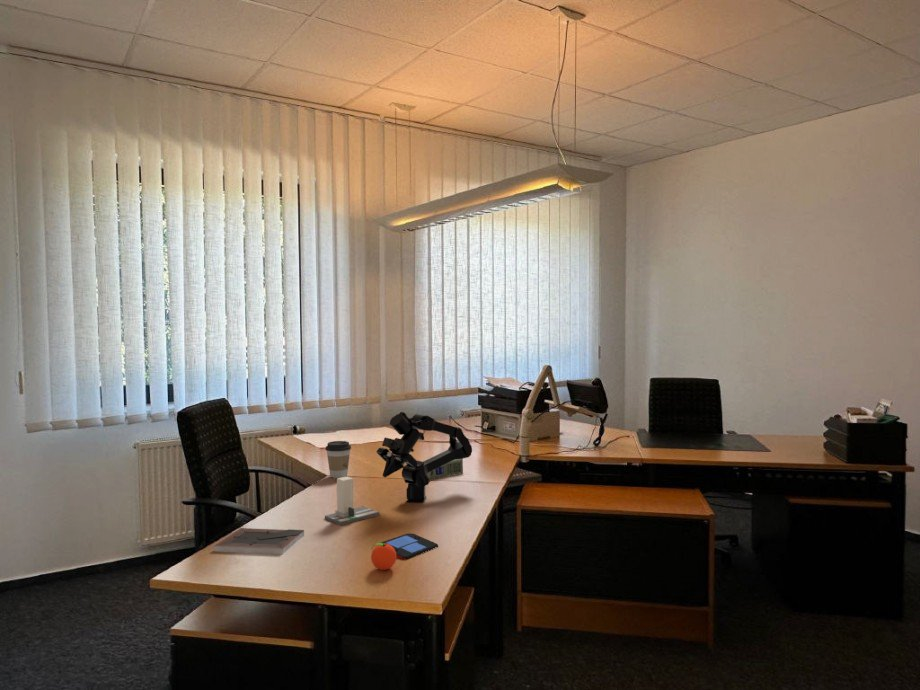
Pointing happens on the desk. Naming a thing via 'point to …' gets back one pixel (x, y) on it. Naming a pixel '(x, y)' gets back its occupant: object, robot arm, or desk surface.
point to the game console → (410, 545)
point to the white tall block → (345, 497)
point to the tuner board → (360, 514)
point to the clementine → (383, 556)
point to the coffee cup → (338, 458)
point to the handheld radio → (447, 469)
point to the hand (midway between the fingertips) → (383, 476)
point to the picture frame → (259, 541)
